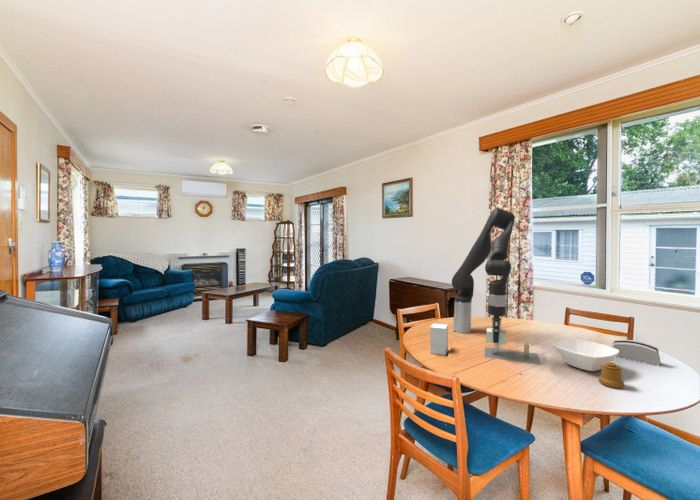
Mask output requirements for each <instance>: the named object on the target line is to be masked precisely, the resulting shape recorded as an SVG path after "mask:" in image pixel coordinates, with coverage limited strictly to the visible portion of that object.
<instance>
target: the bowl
mask: <svg viewBox="0 0 700 500" xmlns="http://www.w3.org/2000/svg"><path fill="white" fill-rule="evenodd" d="M552 347H553V349H555V351H556V352H557V353H558V354H559V355H561V356H562V358H563V360H564V361H565V362H566V364H568V365H569V366H572V367H575V368H578V369H581V370H585V371H588V372H595V371H600V370H602V365H604V364H607V363H611V362H612V361H613V360H615V358H617V357H616V356H617V355H618V354H619V350H618V349H615V348H613V346H612V347H611V346H608V345H606V344H602V343H598V342H594V341H589V340H586V339H581V338H566V339H560V340H556V341H555V342H554V343H553V344H552Z"/></svg>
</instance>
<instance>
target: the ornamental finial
mask: <svg viewBox="0 0 700 500" xmlns="http://www.w3.org/2000/svg"><path fill="white" fill-rule="evenodd" d="M598 382H599V383H600V384H601V385H603V386H604V387H606V388H610V389H616V390H618V389H622V388H623V387H624V386H625V382H624V380H623V379H622V368H620V366H619V365H617V364H616V363H614V362H607V363H606V364H604V365H602V369H601V374H600V376H598Z"/></svg>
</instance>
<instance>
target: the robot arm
mask: <svg viewBox="0 0 700 500" xmlns="http://www.w3.org/2000/svg"><path fill="white" fill-rule="evenodd" d="M515 219H516V218H515V214H514V213H513V212H511V211H507V210H505V209H503V208H500V207H495V208H494V209H493V210H492V211H491V213H490V214H489V217H488V218H487V220H486V222H485V224H484V227H483V228H482V230H481V232H480V234H479V235H478V237H477V239H476V240H475V242H474V244H473V245H472V247H470V248H471V249H470V250H469V252H468V254H467V256H466V258H465V259H464V260H463V262H462V264H461V265H460V267H459V268H458V270H456V272H455V274H453V276H452V279H451V286H452V288H453V289H455V290H457V291H458V292H457V294H456V295H455V296H454V309H453V311H454V314H453V332H456V333H460V334H469V333H470V334H471V333H472V299H473V297H474V287H475V281H474V280H475V279H474V278H473V275H472V274H473V272H474V271H475V270H476V269H478V268H479V267H480V266H481V265H482V264H483V263H484V262H485V261H486V263H485V266H484V270H485V272H486V274H487V275H489V276H498V277H501V278H500V279H496V280H495V279H494V280H491V281H489V284H488V289H489V290H488V298H487V314H488V315H489V316H493V317H491V326H492V327H491V329H493V342H494V343H499V334H500V333H499V330H501V326H502V325H501V324H502V318H501V317H504V316H506V315H507V284H508V280H509V276H510V273H511V270H512V265H511V263H510V261H509V260H506V259H507V258H508V256H509V255H508V252H509V244H510V237H511V235H512V232H513V229H514V228H513V227H514V224H515ZM493 228H498V229H499V230H503V232H502V233H501V234H500V235H498V236H497V237H496V238H495V239H494V240H493V242H492V241H491V232H492V229H493ZM495 329H496V330H498V332H496V331H494V330H495ZM494 343H493V344H494Z"/></svg>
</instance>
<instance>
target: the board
mask: <svg viewBox="0 0 700 500" xmlns="http://www.w3.org/2000/svg"><path fill="white" fill-rule="evenodd" d="M493 346H494V347H487V346H485V347H484V355H483V356H484V357H483V358H488V359H495V360H503V361H510V362H517V363H518V362H519V363H523V364H524V363H525V364H526V363H527V364H533V365H540V366H541V365H542V363H541V361H540V357H539V354H538V353H535V352H530V345H529V344H528V343H524V344H523V351H519V350H510V349H504V348H500V344H494V343H493Z"/></svg>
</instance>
